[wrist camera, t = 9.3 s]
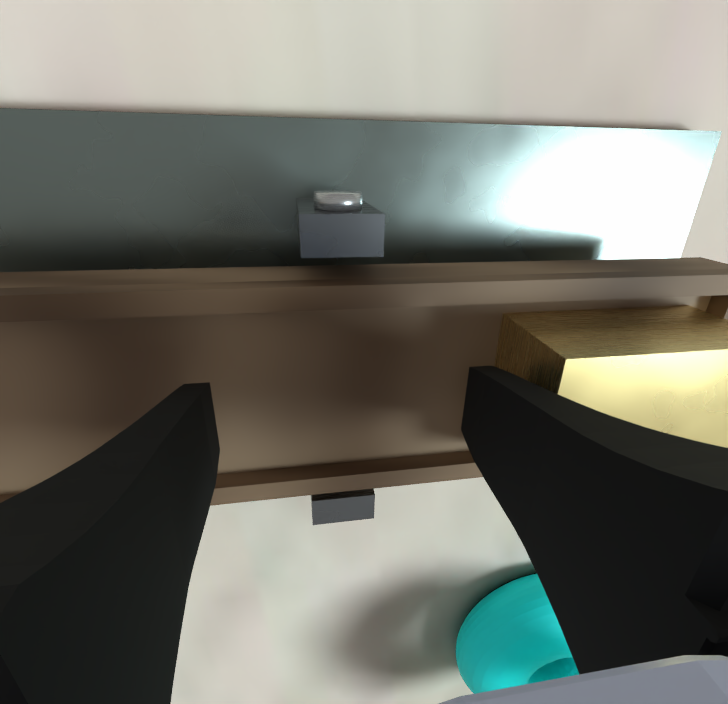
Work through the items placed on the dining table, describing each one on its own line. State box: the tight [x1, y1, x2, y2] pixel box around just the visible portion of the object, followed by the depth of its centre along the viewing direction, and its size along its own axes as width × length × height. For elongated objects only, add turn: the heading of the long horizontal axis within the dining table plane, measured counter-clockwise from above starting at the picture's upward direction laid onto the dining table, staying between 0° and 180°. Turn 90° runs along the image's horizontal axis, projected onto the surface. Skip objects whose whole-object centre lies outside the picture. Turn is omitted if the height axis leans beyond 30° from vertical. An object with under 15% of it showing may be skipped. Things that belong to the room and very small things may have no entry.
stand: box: [0, 108, 721, 525], centre depth 14 cm, size 27×14×5 cm, turn 89°
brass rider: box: [494, 305, 728, 448], centre depth 12 cm, size 6×4×3 cm
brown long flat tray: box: [0, 257, 728, 505], centre depth 12 cm, size 24×6×2 cm, turn 89°
